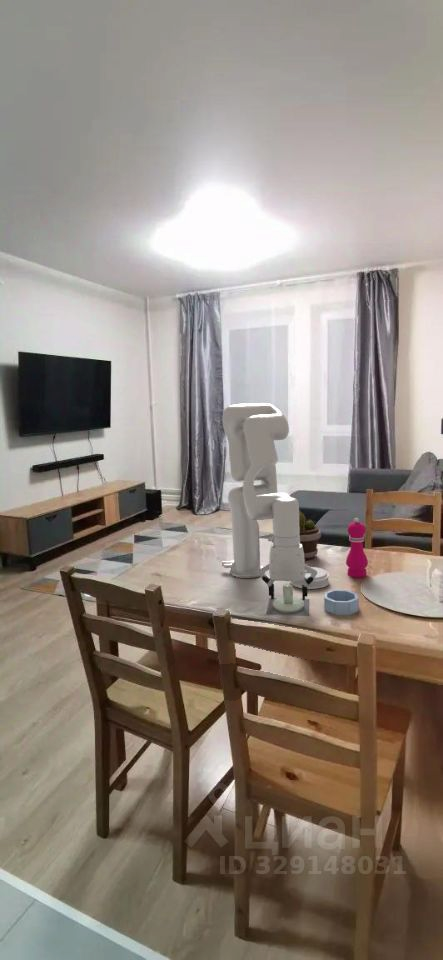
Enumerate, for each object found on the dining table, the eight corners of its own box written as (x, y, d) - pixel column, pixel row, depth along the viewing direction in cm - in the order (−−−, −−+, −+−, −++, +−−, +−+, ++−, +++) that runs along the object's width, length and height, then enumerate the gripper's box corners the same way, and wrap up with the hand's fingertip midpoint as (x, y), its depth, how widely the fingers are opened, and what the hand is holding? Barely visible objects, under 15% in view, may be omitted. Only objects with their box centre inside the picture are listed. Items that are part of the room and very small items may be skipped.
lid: (282, 585, 161) (282, 571, 160) (305, 575, 170) (304, 561, 169) (314, 594, 152) (314, 579, 151) (336, 583, 161) (336, 569, 160)
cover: (271, 612, 139) (271, 591, 138) (273, 600, 148) (273, 580, 147) (303, 612, 137) (303, 591, 136) (304, 600, 146) (303, 580, 145)
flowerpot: (293, 549, 201) (292, 502, 198) (328, 554, 192) (327, 504, 189) (275, 559, 189) (274, 508, 186) (312, 564, 180) (311, 511, 177)
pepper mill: (368, 578, 163) (368, 520, 160) (346, 577, 165) (346, 520, 162) (366, 571, 170) (366, 515, 167) (345, 571, 172) (345, 515, 169)
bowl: (324, 615, 136) (324, 601, 135) (324, 602, 145) (323, 589, 144) (359, 616, 134) (359, 602, 134) (356, 603, 143) (356, 590, 143)
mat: (266, 615, 138) (266, 614, 138) (269, 599, 149) (269, 598, 149) (309, 616, 135) (309, 615, 135) (309, 600, 147) (309, 599, 147)
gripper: (254, 544, 138) (257, 602, 140) (317, 544, 134) (318, 604, 137) (257, 537, 145) (259, 592, 147) (317, 537, 142) (318, 594, 144)
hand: (288, 598), depth 142 cm, fingers open, 8 cm apart
